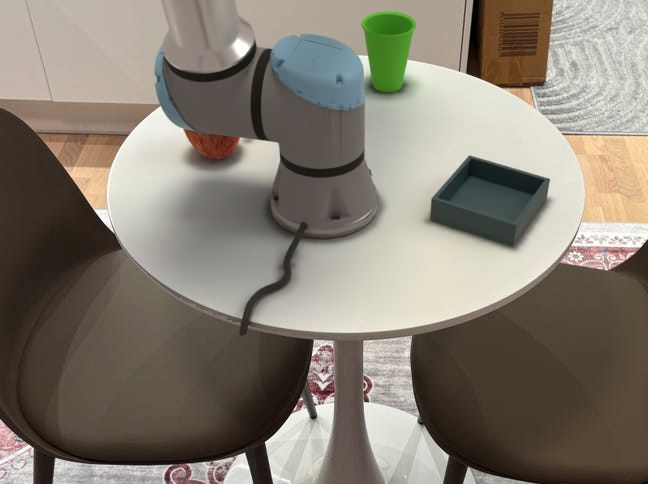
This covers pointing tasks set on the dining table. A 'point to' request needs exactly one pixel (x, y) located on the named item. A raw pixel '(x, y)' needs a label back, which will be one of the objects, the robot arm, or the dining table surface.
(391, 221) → the dining table surface
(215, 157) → the apple
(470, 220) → the holder
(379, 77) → the cup
